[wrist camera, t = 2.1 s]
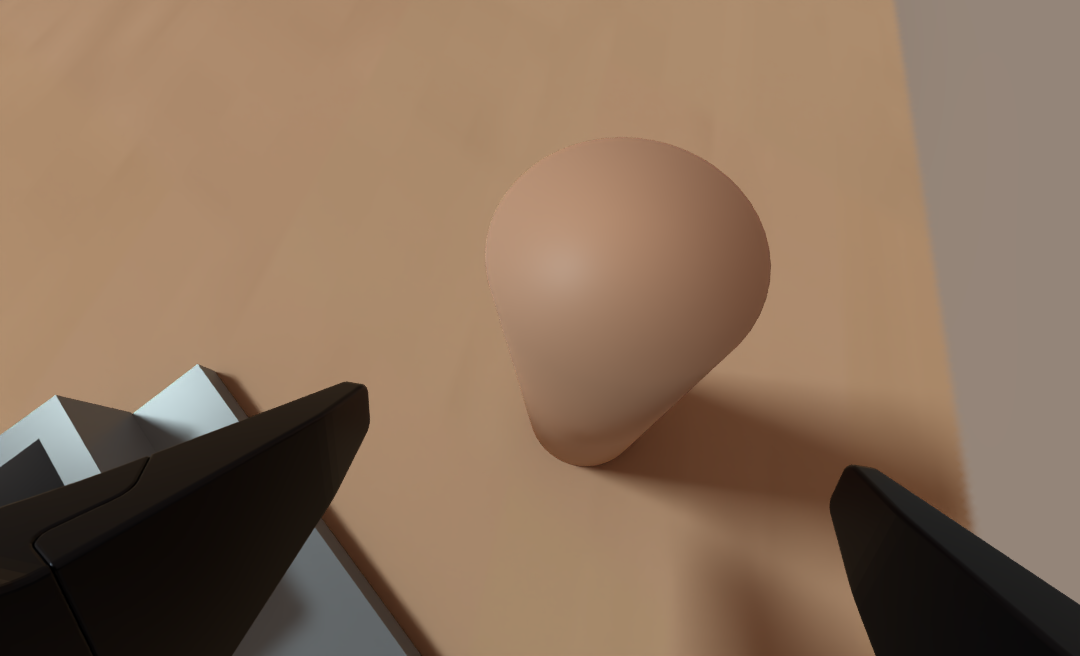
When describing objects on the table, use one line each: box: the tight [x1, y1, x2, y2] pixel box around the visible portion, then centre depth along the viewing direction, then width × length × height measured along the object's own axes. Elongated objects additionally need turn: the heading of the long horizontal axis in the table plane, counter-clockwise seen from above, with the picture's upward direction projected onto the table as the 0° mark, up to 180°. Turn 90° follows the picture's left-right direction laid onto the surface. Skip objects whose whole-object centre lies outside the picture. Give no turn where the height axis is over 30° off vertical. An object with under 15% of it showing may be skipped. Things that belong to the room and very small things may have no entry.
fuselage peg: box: [485, 137, 771, 466], centre depth 13 cm, size 4×4×12 cm
